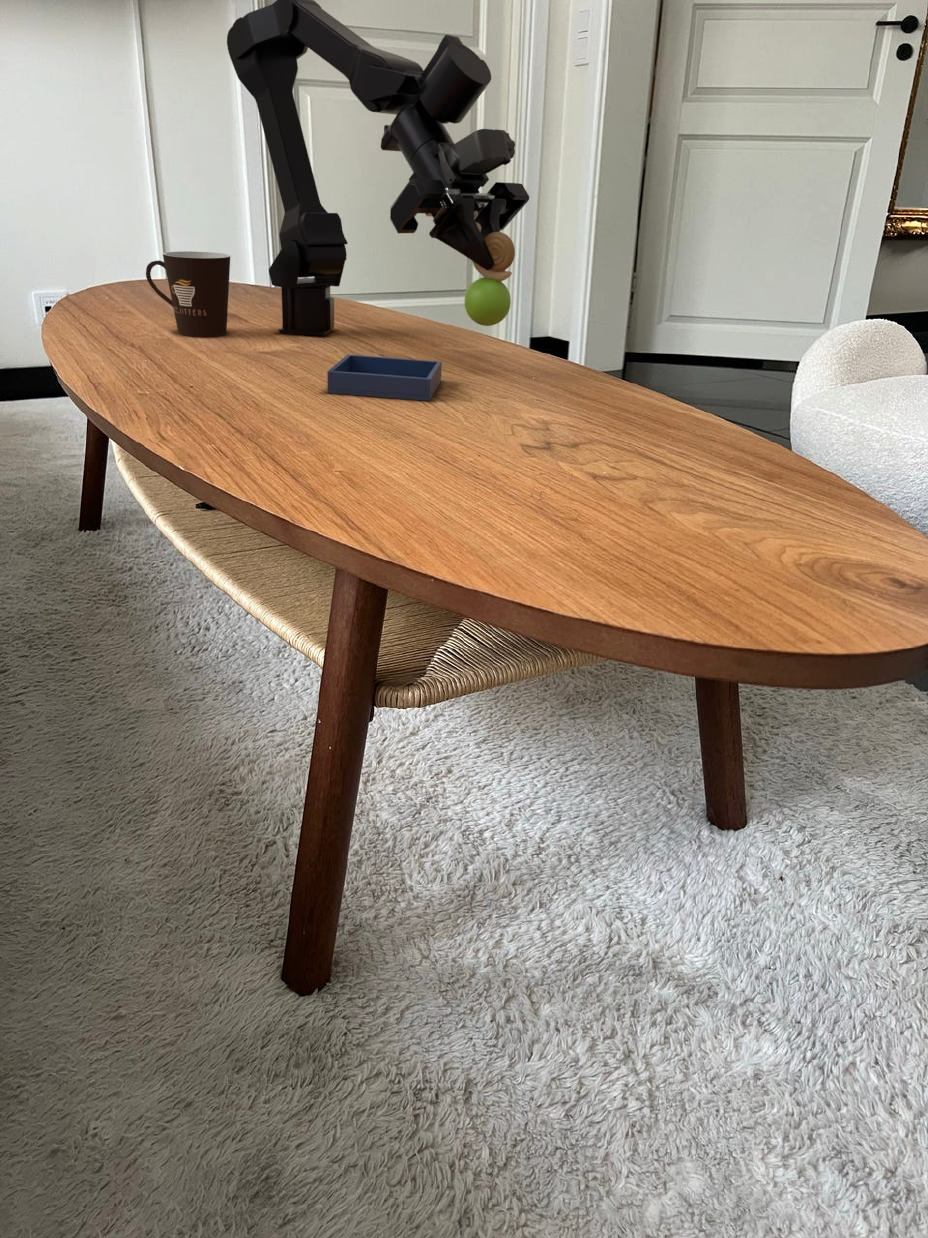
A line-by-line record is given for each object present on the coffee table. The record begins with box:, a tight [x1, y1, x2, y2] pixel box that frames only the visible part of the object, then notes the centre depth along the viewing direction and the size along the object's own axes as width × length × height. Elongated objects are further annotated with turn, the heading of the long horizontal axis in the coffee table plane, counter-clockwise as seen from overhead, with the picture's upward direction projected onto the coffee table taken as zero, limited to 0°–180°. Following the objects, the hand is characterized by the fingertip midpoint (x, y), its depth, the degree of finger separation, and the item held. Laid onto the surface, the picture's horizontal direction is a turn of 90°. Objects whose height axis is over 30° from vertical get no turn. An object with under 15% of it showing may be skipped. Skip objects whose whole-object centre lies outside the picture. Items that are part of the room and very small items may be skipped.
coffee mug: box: [145, 250, 231, 338], centre depth 122 cm, size 12×9×10 cm
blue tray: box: [326, 353, 443, 402], centre depth 100 cm, size 11×10×2 cm
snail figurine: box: [464, 211, 516, 327], centre depth 105 cm, size 5×6×12 cm
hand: (496, 267), depth 104 cm, fingers closed on snail figurine
